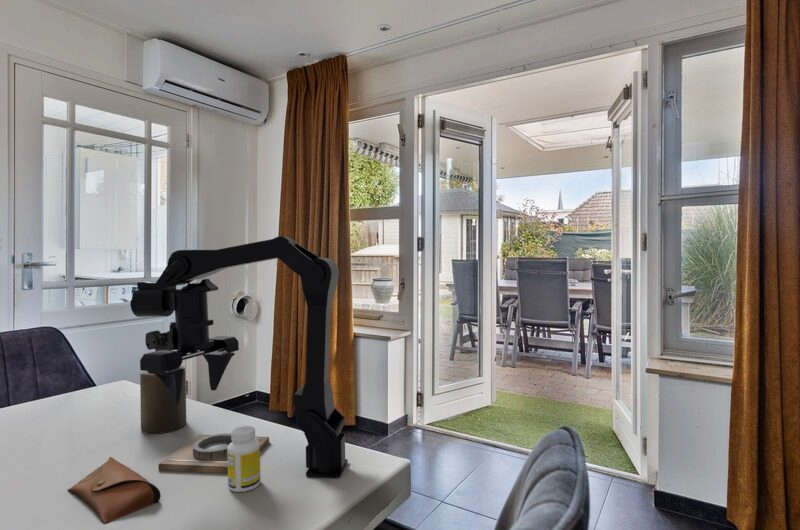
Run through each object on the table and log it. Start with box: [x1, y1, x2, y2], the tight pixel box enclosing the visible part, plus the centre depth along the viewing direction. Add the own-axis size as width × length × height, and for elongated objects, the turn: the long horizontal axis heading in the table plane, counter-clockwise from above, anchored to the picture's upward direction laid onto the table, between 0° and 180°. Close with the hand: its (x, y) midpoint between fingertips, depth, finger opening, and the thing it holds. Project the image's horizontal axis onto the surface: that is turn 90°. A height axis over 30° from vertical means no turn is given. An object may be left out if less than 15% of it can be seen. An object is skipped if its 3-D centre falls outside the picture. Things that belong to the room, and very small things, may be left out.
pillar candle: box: [139, 365, 187, 435], centre depth 108 cm, size 10×10×15 cm
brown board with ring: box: [158, 432, 270, 474], centre depth 92 cm, size 16×14×3 cm
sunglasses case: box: [66, 456, 162, 524], centre depth 78 cm, size 18×7×7 cm, turn 53°
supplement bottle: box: [227, 425, 261, 493], centre depth 80 cm, size 5×5×10 cm
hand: (195, 397), depth 87 cm, fingers open, 9 cm apart
